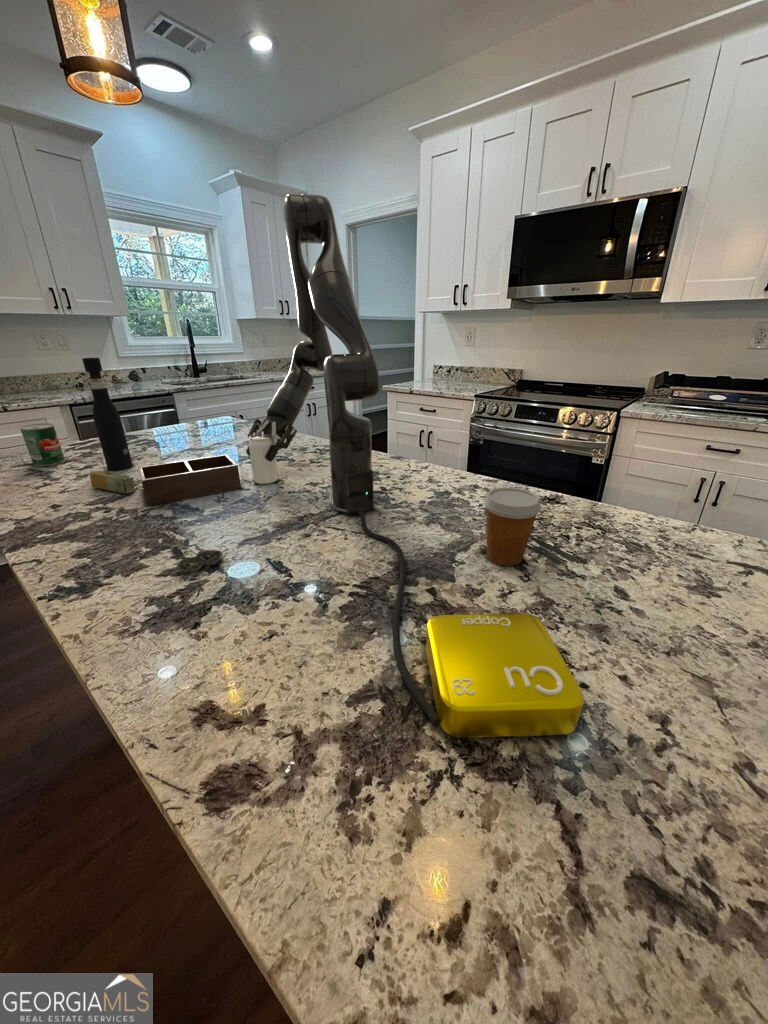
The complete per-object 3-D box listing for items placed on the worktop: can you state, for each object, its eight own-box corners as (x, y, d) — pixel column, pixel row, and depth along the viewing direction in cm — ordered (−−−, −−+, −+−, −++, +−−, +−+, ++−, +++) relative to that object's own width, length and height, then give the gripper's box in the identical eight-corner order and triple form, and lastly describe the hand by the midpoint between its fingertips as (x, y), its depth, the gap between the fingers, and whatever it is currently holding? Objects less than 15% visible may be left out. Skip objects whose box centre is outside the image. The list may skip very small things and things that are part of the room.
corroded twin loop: (171, 568, 72) (170, 563, 72) (214, 551, 78) (213, 546, 77) (185, 579, 69) (183, 573, 69) (229, 560, 75) (228, 555, 74)
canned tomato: (39, 459, 128) (27, 424, 123) (69, 457, 130) (58, 422, 125) (28, 467, 121) (14, 430, 116) (59, 465, 123) (47, 428, 119)
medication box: (136, 491, 105) (133, 476, 103) (126, 494, 102) (124, 478, 101) (100, 484, 108) (98, 469, 107) (90, 487, 106) (88, 471, 104)
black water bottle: (109, 465, 123) (78, 357, 111) (133, 462, 126) (106, 356, 113) (106, 471, 118) (73, 359, 105) (132, 468, 120) (103, 358, 108)
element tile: (532, 637, 57) (537, 608, 55) (583, 736, 43) (593, 703, 41) (423, 639, 57) (425, 610, 55) (440, 740, 43) (443, 707, 41)
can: (281, 476, 115) (277, 433, 110) (273, 485, 109) (268, 440, 104) (259, 475, 115) (253, 433, 110) (249, 484, 110) (243, 439, 105)
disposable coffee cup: (493, 574, 71) (502, 510, 66) (469, 547, 80) (475, 489, 74) (542, 566, 74) (554, 504, 68) (513, 541, 82) (522, 484, 77)
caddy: (241, 488, 107) (237, 465, 104) (147, 506, 97) (141, 480, 94) (230, 475, 115) (227, 454, 113) (143, 490, 105) (137, 467, 102)
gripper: (259, 393, 113) (230, 445, 109) (298, 398, 105) (268, 454, 101) (276, 410, 119) (249, 460, 115) (314, 415, 112) (286, 469, 108)
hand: (258, 457), depth 108 cm, fingers closed on can, 6 cm apart
